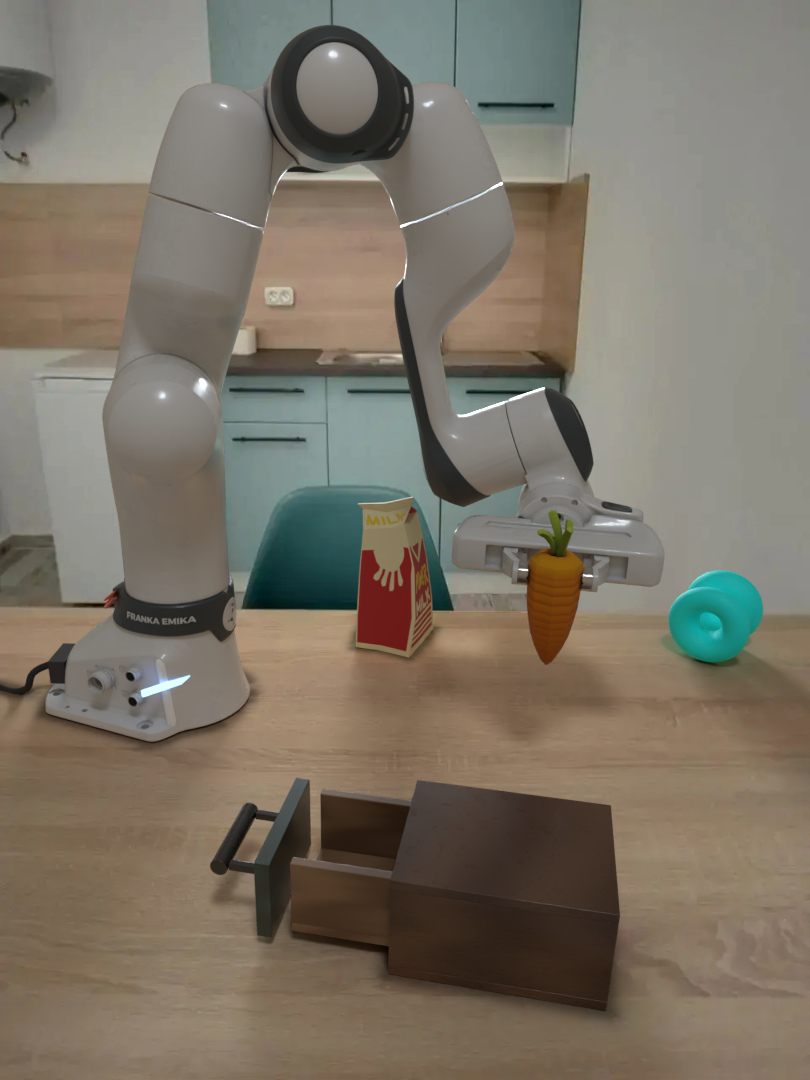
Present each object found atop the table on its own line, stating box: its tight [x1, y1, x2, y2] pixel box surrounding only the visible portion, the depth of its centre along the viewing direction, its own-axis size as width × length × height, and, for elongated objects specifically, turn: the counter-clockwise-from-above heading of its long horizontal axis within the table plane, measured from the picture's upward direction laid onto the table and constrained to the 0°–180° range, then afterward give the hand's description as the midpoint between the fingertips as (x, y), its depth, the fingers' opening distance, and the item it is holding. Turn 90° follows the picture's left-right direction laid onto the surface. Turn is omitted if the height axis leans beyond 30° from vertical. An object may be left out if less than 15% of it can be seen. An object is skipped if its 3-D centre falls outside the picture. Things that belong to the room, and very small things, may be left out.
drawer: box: [209, 777, 412, 947], centre depth 65 cm, size 19×10×7 cm, turn 80°
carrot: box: [526, 510, 583, 666], centre depth 76 cm, size 5×5×15 cm
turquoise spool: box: [667, 569, 764, 663], centre depth 108 cm, size 10×10×10 cm
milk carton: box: [355, 496, 434, 658], centre depth 107 cm, size 9×9×20 cm
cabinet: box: [387, 779, 621, 1011], centre depth 63 cm, size 16×12×9 cm
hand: (555, 580), depth 75 cm, fingers closed on carrot, 5 cm apart
